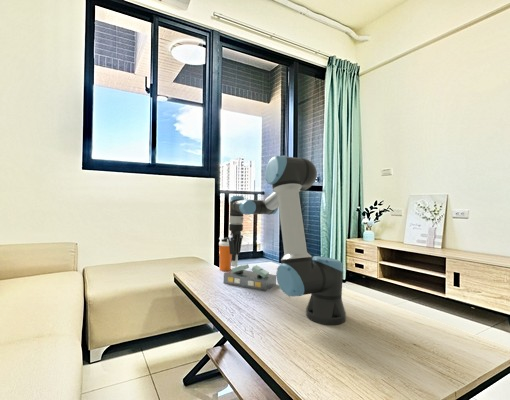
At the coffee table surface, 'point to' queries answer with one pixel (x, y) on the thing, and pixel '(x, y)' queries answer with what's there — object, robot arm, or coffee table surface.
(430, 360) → the coffee table surface
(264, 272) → the switch
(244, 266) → the switch
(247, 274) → the console
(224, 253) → the shaker bottle
